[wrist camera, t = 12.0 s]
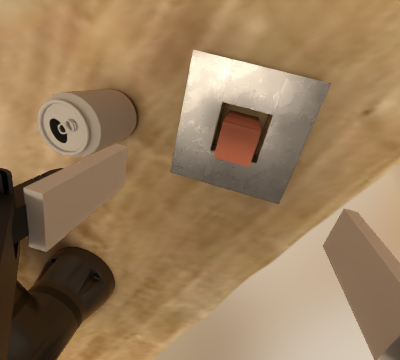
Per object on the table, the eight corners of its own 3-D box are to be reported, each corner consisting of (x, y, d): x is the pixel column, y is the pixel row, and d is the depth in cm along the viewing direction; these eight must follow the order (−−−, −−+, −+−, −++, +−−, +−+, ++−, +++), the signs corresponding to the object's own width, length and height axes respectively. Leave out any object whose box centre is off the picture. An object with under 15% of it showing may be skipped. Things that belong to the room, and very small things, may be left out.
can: (86, 99, 37) (17, 107, 26) (125, 80, 35) (68, 81, 24) (108, 144, 39) (53, 169, 28) (147, 129, 37) (104, 150, 26)
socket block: (276, 191, 37) (278, 204, 33) (177, 163, 38) (170, 172, 34) (321, 82, 30) (330, 83, 26) (199, 53, 31) (193, 49, 28)
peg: (249, 144, 35) (249, 167, 26) (222, 137, 35) (213, 157, 26) (258, 117, 33) (261, 131, 24) (230, 110, 33) (223, 121, 24)
